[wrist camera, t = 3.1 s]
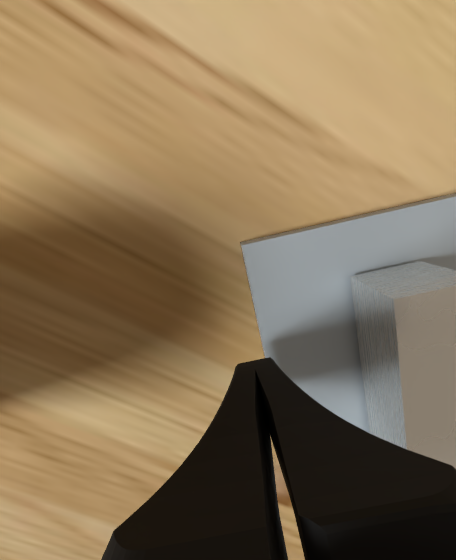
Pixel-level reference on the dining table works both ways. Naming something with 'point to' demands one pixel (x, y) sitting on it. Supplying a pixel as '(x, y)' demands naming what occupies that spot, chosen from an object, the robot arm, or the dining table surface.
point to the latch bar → (409, 356)
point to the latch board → (336, 291)
